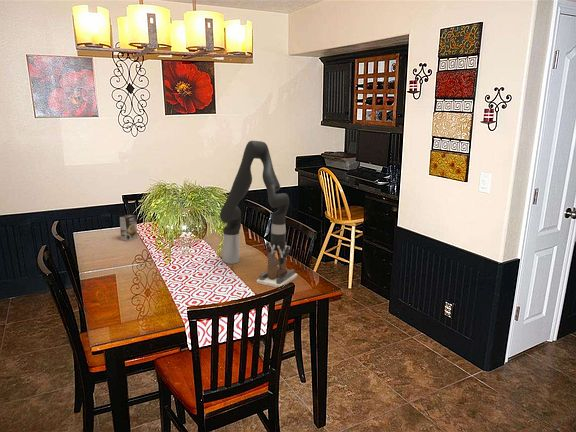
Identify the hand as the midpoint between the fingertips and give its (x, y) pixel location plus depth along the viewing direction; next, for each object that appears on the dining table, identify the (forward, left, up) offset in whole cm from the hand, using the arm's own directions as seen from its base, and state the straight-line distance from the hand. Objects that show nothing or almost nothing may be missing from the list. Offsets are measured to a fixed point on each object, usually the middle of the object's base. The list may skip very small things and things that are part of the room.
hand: (277, 263), depth 229 cm
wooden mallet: (0, 0, -8) cm, 8 cm away
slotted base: (0, 0, -9) cm, 9 cm away
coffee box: (-121, +12, -9) cm, 122 cm away
